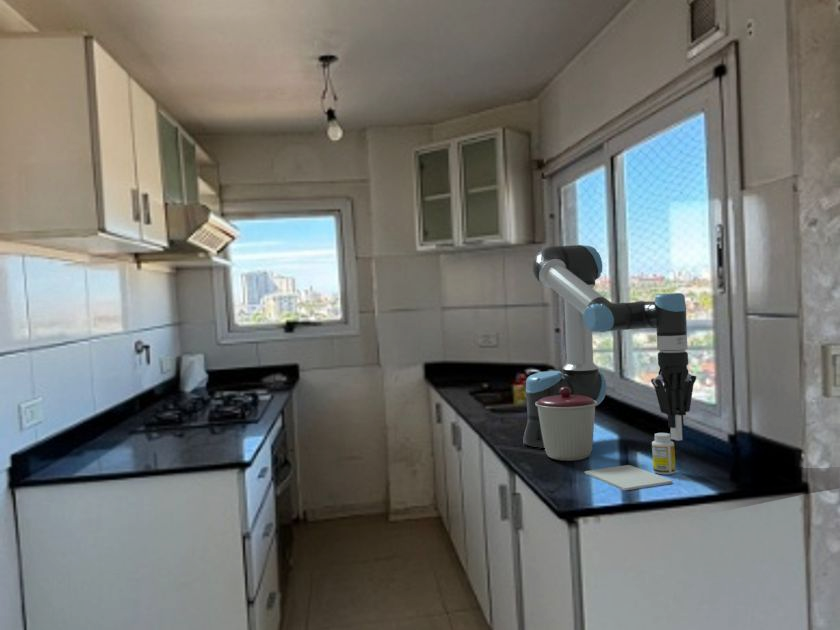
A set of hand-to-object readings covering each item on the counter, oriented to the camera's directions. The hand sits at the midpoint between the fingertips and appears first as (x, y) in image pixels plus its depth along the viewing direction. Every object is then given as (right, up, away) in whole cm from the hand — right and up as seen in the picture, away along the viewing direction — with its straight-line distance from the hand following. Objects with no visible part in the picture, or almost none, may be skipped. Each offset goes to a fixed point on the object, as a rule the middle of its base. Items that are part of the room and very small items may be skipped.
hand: (676, 439), depth 173 cm
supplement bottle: (-4, -9, -1) cm, 10 cm away
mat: (-15, -9, -5) cm, 18 cm away
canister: (-24, -10, +21) cm, 33 cm away
